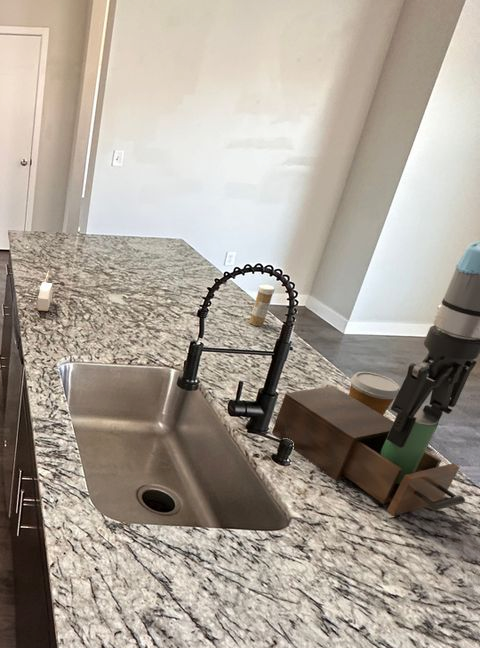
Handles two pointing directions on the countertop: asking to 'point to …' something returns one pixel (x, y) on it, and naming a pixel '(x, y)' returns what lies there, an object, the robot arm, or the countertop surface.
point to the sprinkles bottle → (261, 305)
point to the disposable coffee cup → (373, 390)
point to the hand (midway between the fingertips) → (407, 440)
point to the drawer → (414, 488)
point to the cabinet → (327, 426)
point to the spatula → (45, 295)
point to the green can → (411, 444)
